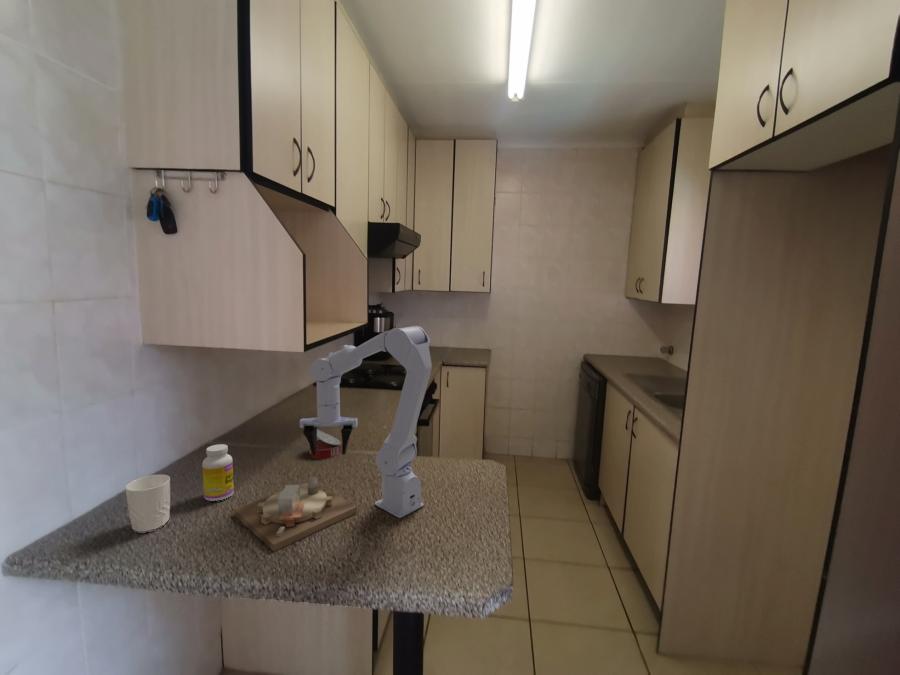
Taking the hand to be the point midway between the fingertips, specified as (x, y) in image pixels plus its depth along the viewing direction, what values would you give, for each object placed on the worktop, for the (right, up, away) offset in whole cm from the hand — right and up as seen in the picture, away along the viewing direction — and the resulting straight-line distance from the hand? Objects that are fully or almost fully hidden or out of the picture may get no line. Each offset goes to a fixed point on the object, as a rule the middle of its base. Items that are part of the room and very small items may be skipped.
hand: (329, 453), depth 109 cm
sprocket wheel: (-4, -9, -13) cm, 16 cm away
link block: (-4, -8, -17) cm, 19 cm away
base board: (-4, -11, -12) cm, 17 cm away
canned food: (-8, -7, +25) cm, 27 cm away
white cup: (-34, -11, -18) cm, 40 cm away
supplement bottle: (-27, -10, -5) cm, 29 cm away
